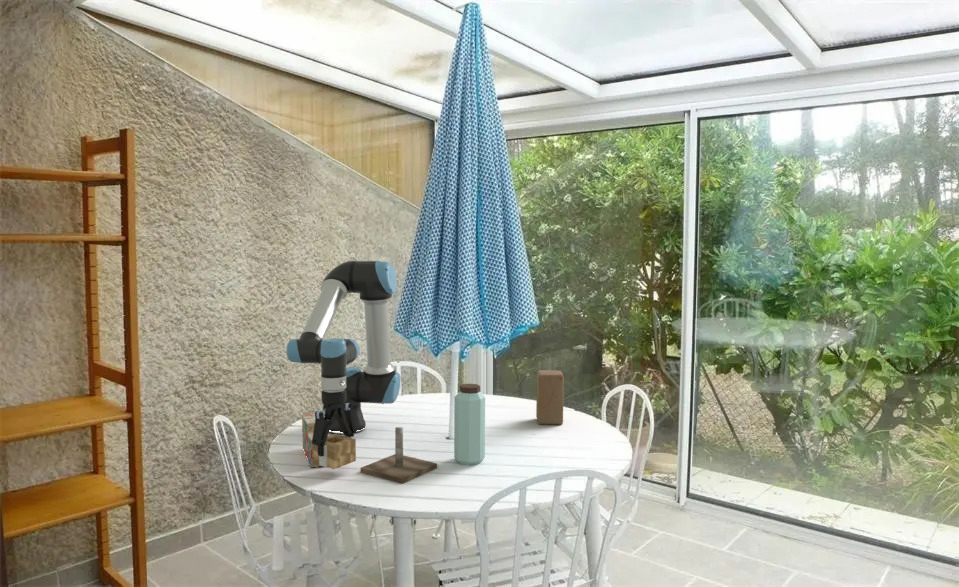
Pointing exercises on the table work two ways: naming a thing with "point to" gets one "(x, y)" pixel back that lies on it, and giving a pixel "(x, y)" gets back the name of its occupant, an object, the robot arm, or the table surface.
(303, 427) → the stack of blocks
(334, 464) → the bead
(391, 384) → the robot arm
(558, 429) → the table surface
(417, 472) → the board
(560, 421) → the wooden block
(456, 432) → the water bottle
